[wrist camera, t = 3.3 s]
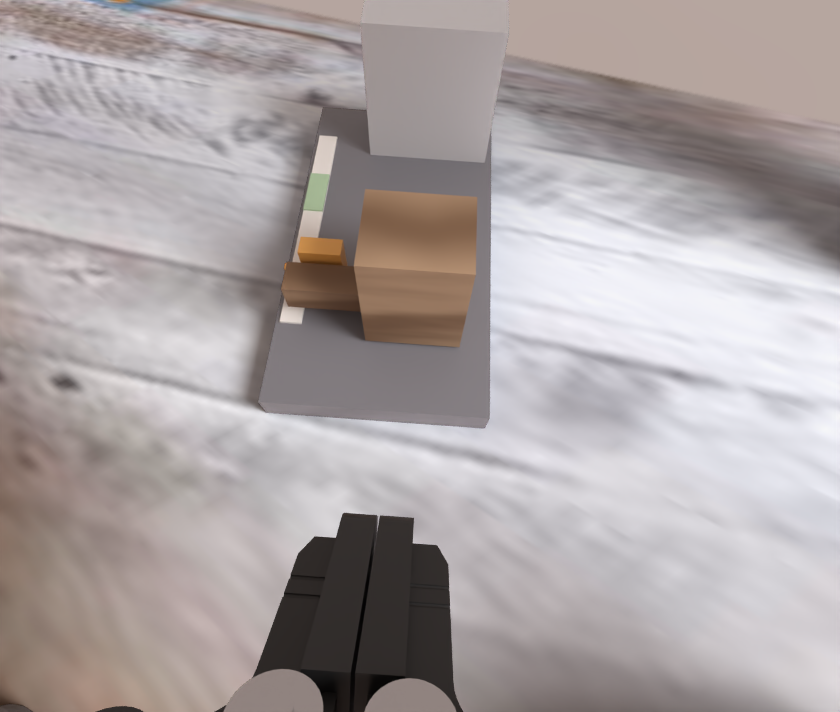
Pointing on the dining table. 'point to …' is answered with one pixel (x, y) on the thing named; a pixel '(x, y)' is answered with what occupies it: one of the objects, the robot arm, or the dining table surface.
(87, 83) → the dining table surface
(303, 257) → the pointer
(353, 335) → the gauge base
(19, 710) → the beverage cup
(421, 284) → the brown block
